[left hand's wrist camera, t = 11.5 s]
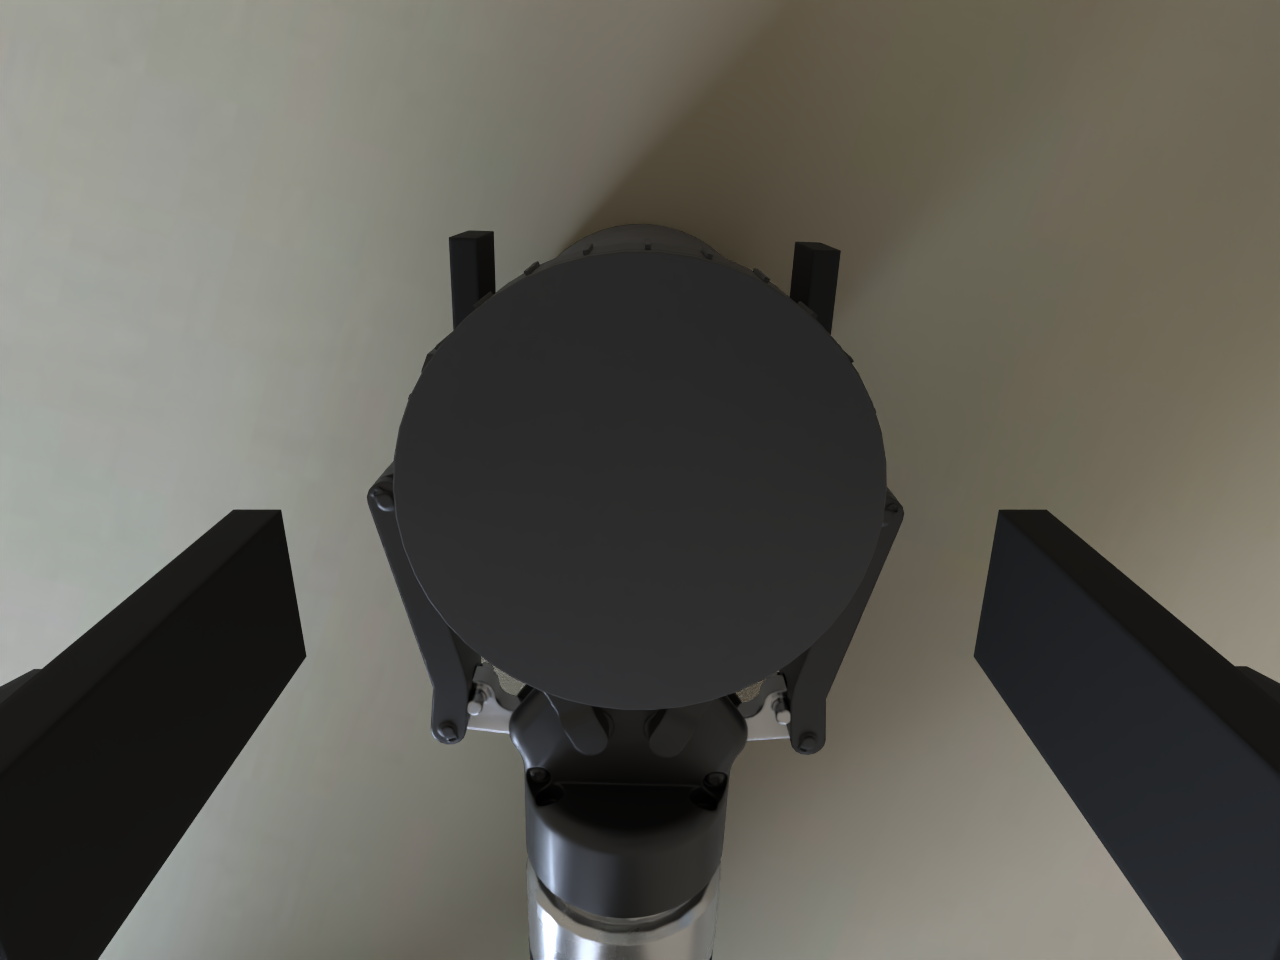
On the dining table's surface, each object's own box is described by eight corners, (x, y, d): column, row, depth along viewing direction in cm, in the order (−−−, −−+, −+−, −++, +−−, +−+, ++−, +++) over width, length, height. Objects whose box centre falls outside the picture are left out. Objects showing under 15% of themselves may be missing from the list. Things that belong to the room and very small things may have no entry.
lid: (905, 596, 19) (934, 643, 18) (513, 705, 21) (500, 762, 19) (802, 169, 16) (825, 168, 14) (339, 329, 17) (301, 349, 15)
